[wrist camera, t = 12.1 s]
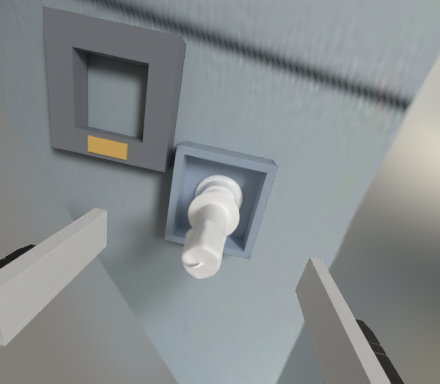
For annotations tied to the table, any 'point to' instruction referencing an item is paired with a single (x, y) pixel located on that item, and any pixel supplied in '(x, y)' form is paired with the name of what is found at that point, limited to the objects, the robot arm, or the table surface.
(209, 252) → the white cylindrical piece
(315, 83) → the table surface
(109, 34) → the socket panel
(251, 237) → the tray
